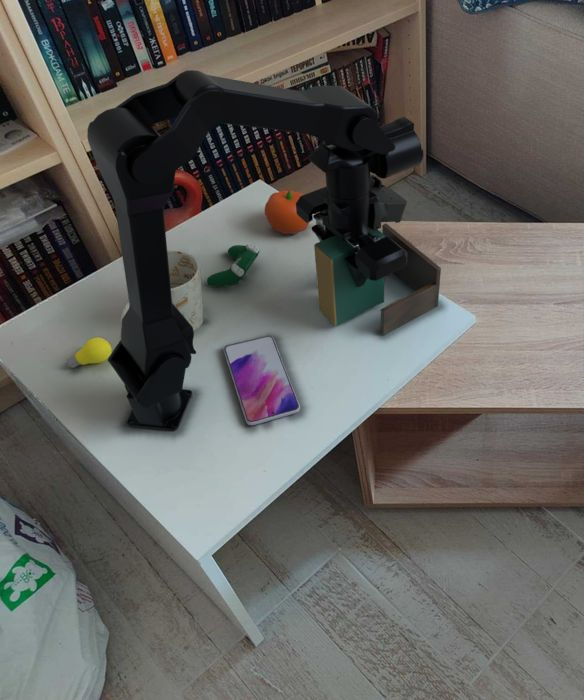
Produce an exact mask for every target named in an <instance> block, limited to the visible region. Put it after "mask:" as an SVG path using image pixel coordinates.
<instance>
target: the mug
mask: <svg viewBox="0 0 584 700" xmlns="http://www.w3.org/2000/svg"><path fill="white" fill-rule="evenodd" d="M167 253H168V263H169V274H170V285H171V295H172V303H173V304H174V305H175V307H176V308H177V309H178V310H179V311H180V313H181V314H182V315H183V316H184V317H185V319H186V320H187V321H188V322H189V323H190V325H191V326H192V327H193V331H194V332H195V331H197V330H198V329H199V328H200V327H201V326H202V324H203V322H204V320H205V319H204V316H205V315H204V306H203V303H204V302H203V294H202V281H201V270H200V265H199V262H198V260H197V259H196V258H195V257H194V256H192V255H191V254H189V253H186V252H183V251H178V250H167ZM128 309H129V301H128V302H127V303H126V304H125V306H124V307H123V310H122V312H121V316H120V324H121V326H122V319H123V317H124V316H125V314H126V312H127V311H128Z"/></svg>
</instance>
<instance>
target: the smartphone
mask: <svg viewBox="0 0 584 700" xmlns="http://www.w3.org/2000/svg"><path fill="white" fill-rule="evenodd" d="M223 354H224V356H225V361H226V363H227V367H228V369H229V373H230V375H231V379H232V382H233V385H234V388H235V392H236V395H237V398H238V402H239V405H240V408H241V409H240V410H241V412H242V413H243V417H244V420H245V423H246V424H247V425H248V426H255V425H259V424H263V423H266V422H271V421H273V420H277V419H280V418H284V417H287V416H291V415H294V414H297V413H299V412H300V411H301V405H300V403H299V400H298V397H297V395H296V392H295V389H294V387H293V384H292V382H291V379H290V376H289V374H288V372H287V369H286V367H285V364H284V361H283V358H282V356H281V354H280V351H279V348H278V346H277V343H276V340H275V338H274V337H273V335H269V334H267V335H264V336H263V335H262V336H259V337H254V338H252V339H246V340H242V341H237V342H233V343H230V344H226V345H225V346H224V347H223Z"/></svg>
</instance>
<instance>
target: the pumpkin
mask: <svg viewBox="0 0 584 700" xmlns="http://www.w3.org/2000/svg"><path fill="white" fill-rule="evenodd" d="M302 195H304V194H303V193H302V192H297V191H295V190H290V189H289V190H285V189H281V190H280V191H278V192H277V191H276V192H273V193H271V195H269V197H268V199H267V201H266V203H265V205H264V216H265V219H266V220H267V222H268V223H269V224H270V226H271V227H272V228H273V230H274V231H275V232H279V233H280V232H281V233H282V234H284V235H288V234H293V235H296V234H298V233H300V232H304V231H305V230H306V229H307V228H308V226H309V224H310V222H308V223H306V222H305V221H304V220H303V219H302V218H300V217H299V216H298V215H297V212H296V202H297V201H298V199H299V198H300V196H302Z"/></svg>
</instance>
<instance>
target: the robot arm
mask: <svg viewBox="0 0 584 700" xmlns="http://www.w3.org/2000/svg"><path fill="white" fill-rule="evenodd" d="M172 119H175V120H174V121H173V123H172V124H171V126H170V127H169V129H168V130H166V131H165V132H164V133H162V134H160V133H159V132H158V131H157V130H155V128H153V127H154V126H155V125H157V124H159V123H163V122H165V121H169V120H172ZM220 124H223V125H232V126H240V127H247V128H256V129H264V130H272V131H273V130H274V131H281V132H289V133H290V132H291V133H298V134H305V135H308V136H312V137H314V138H317V139H319V140H321V141H323V142H325V143H328V144H330V145H326V144H325V143H323V142H321V143H320V144H318V147H317V148H316V149H314V150H313V151H312V152H311V153H310V154H309V155H308V156H307V157H308V158H307V159H308V161H309V162H311V163H312V164H313V166H315V167H317V168H318V169H319V170H320V171H322V172H323V173H324V174H325V186H324V187H320V188H319V189H316V190H313V191H310V192H307V193H305V194H303V195H302V196H300V198H299V199H298V201H297V202H296V212H297V215H298V216H299V217H300V218H302V219H303V220H304V221H305V222H306V223H308V222H309V223H311V222H313V221H314V220H315V225H312V226H311V231H312V233H314V235H315V236H316V237H317V239H318V241H319V242H320V241H323V240H325V239H328V238H330V237H332V236H335V235H336V236H337V237H338V238H339V239H340V240H342V241H346V242H347V243H349V244H350V245H351V246H352V247H353V248H357V250H358V251H355V254H353V255H350V256H348V257H346V258H344V260H345V262H346V264H347V266H348V268H349V270H350V273H351V275H352V277H353V279H354V281H355V283H356V285H357V286H358V287H361V286H363V285H364V284H365V282H366V280H367V278H368V279H370V280H373V281H377V280H379V279H381V278H383V277H384V278H385V277H387V276H389V275H392V274H394V273H393V272H396V271H398V270H400V269H402V268H404V267H406V265H407V251H405V250H404V249H403V248H402V247H401V246H399V245H398V244H397V243H396V242H395V241H393V240H392V239H390V238H389V237H385V238H381V237H380V236H377V235H375V236H373V235H372V234H371V233H369V230H371V229H373V230H374V231H375V230H377V229H378V230H380V229H382V223H396V224H399V223H401V222H402V218H403V216H404V212H405V209H406V207H407V204H408V201H407V200H406V199H405V198H404V197H402V196H401V195H400V194H399V193H397V192H396V191H395V190H393V189H392V188H390V187H387V186H386V185H385V184H383V182H382V180H381V179H383V180H384V179H387V178H389V177H392V176H395V175H398V174H400V173H402V172H405V171H408V170H410V169H412V168H416V167H419V166H420V165H421V163H422V162H423V160H424V150H423V149H422V144H421V140H420V138H419V136H418V134H417V132H416V131H415V123H414V122H413V121H412V120H411V119H409V118H407V117H405V116H402V117H399V118H396V119H394V120H393V121H391V122H388V123H385V124H382V125H379V117H378V114H377V110H376V109H375V108H373V107H372V106H371V105H369V104H368V103H367V102H365V101H363V100H362V99H361V98H359V97H358V96H357V95H356V94H354V93H353V92H351V91H350V90H348V89H346V88H345V87H344V86H341V85H314V86H313V87H310V88H309V89H306V90H295V89H289V88H283V87H280V86H279V87H278V86H274V85H273V86H272V85H267V84H261V83H255V82H250V81H243V80H238V79H233V78H227V77H222V76H216V75H209V74H206V73H205V72H202V71H200V70H194V69H191V70H190V69H189V70H187V69H186V70H185V71H182V72H180V73H179V74H177V75H176V76H174V77H173V78H172V79H170V80H169V81H167V82H165V83H164V84H163V83H162V84H161V85H158V86H154V87H152V88H151V87H150V88H147V89H146V90H142V91H140V92H136V93H134V94H132V95H131V96H129V97H128V98H127V99H125V100H124V101H122V102H121V103H119V104H118V105H117V106H116V107H114V108H113V107H112V108H109V109H106V110H104V111H102V112H100V113H99V114H98V115H96V117H95V118H94V119H93V121H90V122H89V124H88V126H87V138H86V139H87V143H88V145H89V148H90V150H91V153H92V155H93V159H94V161H95V163H96V166H97V168H98V172H99V173H100V175H101V177H102V179H103V181H104V183H105V185H106V187H107V189H108V191H109V194H110V195H111V197H112V200H113V202H114V207H115V208H114V210H115V215H116V223H117V229H118V236H119V242H120V243H119V244H120V249H121V256H122V264H123V270H124V276H125V283H126V284H125V285H126V291H127V296H128V302H129V309H128V311H127V312H126V314H125V316H124V317H123V319H122V325H121V331H120V339H119V341H118V343H117V344H116V346H115V347H114V349H112V352H111V355H110V356H109V357H108V359H107V361H108V363H109V364H110V366H111V367H112V369H113V370H114V372H115V373H116V374H117V376H118V377H119V379H120V380H121V382H122V383H123V384H124V388H125V390H126V392H127V394H126V398H127V400H128V403H129V405H130V408H131V411H130V413H129V415H128V416H129V417H128V418H127V420H126V425H127V426H128V427H132V428H140V429H141V428H142V429H152V430H162V431H172V432H174V431H178V429H179V427H180V425H181V423H182V420H183V418H184V416H185V413H186V411H187V409H188V406H189V404H190V402H191V400H192V397H193V391H192V390H191V389H185V388H184V381H185V375H186V370H187V369H188V368H190V365H191V362H192V355H196V354H197V350H196V349H195V347H194V338H195V337H194V335H195V331H193V327H192V326H191V325H190V323H189V322H188V321H187V320H186V319H185V317H184V316H183V315H182V314H181V313H180V311H179V310H178V309H177V308H176V307H175V305H174V304H173V303H172V295H171V285H170V274H169V263H168V253H167V251H168V243H167V234H166V233H167V232H166V222H165V206H166V204H167V203H168V202H169V201H168V200H169V199H170V198H171V195H172V194H173V192H174V189H175V181H176V180H175V179H176V172H177V170H180V168H181V167H183V166H184V165H185V164H187V163H188V162H190V161H191V160H193V158H194V157H195V155H196V154H197V153H198V151H199V149H200V147H201V146H202V144H203V142H204V141H205V139H206V137H207V136H208V134H209V132H211V131H212V130H213V129H214V128H216V127H217V126H219V125H220Z"/></svg>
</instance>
